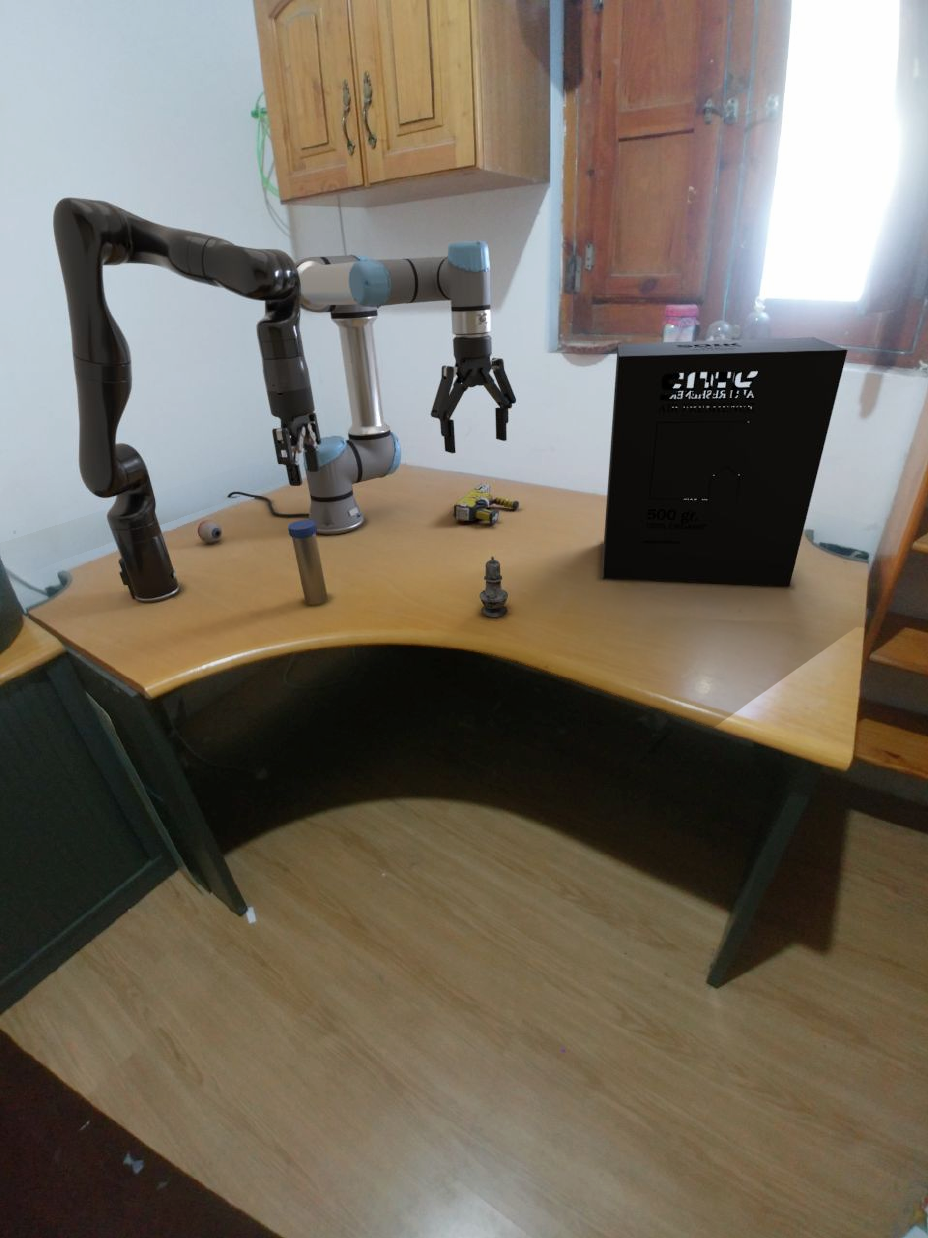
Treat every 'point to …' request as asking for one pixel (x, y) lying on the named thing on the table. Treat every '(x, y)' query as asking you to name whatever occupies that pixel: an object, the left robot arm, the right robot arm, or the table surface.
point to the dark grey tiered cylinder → (493, 591)
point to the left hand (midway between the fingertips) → (305, 478)
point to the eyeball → (209, 531)
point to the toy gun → (480, 505)
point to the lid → (302, 528)
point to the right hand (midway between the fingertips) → (476, 445)
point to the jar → (310, 570)
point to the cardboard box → (716, 458)
